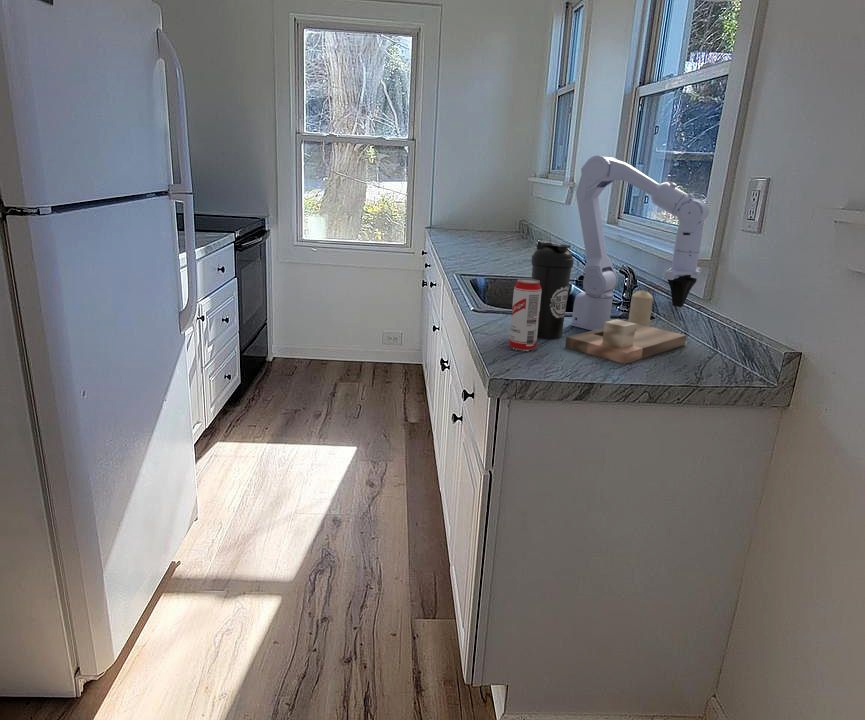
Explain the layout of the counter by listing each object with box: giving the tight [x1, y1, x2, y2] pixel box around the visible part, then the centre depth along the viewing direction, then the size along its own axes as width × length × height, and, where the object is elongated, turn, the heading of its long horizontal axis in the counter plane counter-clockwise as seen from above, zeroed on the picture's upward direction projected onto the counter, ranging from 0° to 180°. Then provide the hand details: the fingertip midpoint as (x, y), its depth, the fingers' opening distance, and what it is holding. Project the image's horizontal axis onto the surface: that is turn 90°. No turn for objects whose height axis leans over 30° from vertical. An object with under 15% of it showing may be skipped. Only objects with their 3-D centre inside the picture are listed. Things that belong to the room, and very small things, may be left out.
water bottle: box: [530, 241, 575, 340], centre depth 162 cm, size 10×10×23 cm
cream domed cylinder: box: [627, 289, 654, 327], centre depth 177 cm, size 6×6×10 cm
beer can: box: [508, 278, 542, 351], centre depth 149 cm, size 6×6×16 cm
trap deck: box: [565, 322, 687, 365], centre depth 158 cm, size 16×28×2 cm, turn 133°
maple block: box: [602, 318, 636, 348], centre depth 150 cm, size 5×5×5 cm
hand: (677, 306), depth 161 cm, fingers closed
